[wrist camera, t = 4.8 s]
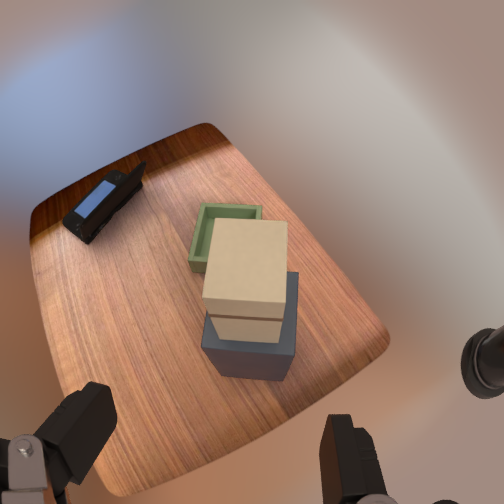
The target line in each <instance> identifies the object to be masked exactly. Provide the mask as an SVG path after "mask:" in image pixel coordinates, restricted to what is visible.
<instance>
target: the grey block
mask: <svg viewBox="0 0 504 504" xmlns="http://www.w3.org/2000/svg"><path fill="white" fill-rule="evenodd" d="M298 275H299V273H298V272H287V280H286V304H285V310H284V320H283V322H282V326H281V331H280V337H279V342H278V343H265V342H249V341H235V340H222V339H219V336H218V334H217V332H216V330H215V327H214V325H213V323H212V320H211V318H210V317H209V316H208V311H206V318H205V324H204V330H203V336H202V343H201V348H202V349H203V351H204V352H205V354H206V355H207V356H208V358H209V359H210V361H211V362H212V363H213V365H214V366H215V368H216V369H217V370H218V372H219V373H220V374H221V376H227V377H236V378H246V379H258V380H271V381H283V380H284V378H285V376H286V374H287V371H288V369H289V367H290V365H291V363H292V360H293V358H294V356H295V345H296V325H297V303H298Z"/></svg>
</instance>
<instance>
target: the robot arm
mask: <svg viewBox="0 0 504 504" xmlns="http://www.w3.org/2000/svg"><path fill="white" fill-rule="evenodd" d="M472 363H473V370H474V374H475V376H476V378H477V380H478V382H479V383H480V384H481V385H482V386H483V387H485V388H487V389H491V390H494V389H498V388H500V387H502V386H504V326H502V327H500V328H498V329H497V330H495V331H493V332H491V334H490V333H489V334H488V335H486V336H484V337H483V338H481V339H480V340H479V342H478V343H477V344H476V346H475V349H474V352H473V359H472ZM116 424H117V413H116V409H115V405H114V401H113V397H112V393H111V389H110V387H109V386H107V385H103V384H99V383H96V382H92V381H91V382H88V383H87V385H86V386H85V387H84V388H83V389H82V390H81V391H79V390H77V391H75V392H74V393H72V394H70V395H68V396H67V397H66V398H65V399H64V400H63V401H62V402H61V404H60V406H58V407H57V408H56V409H55V411H54V412H53V413H52V414H51V415H50V416H49V417H48V418H47V419H46V420H45V422H44V423H43V424H42V425H41V426H40V428H39V429H38V430H37V431H36V432H35V433H34V434H33V435H29V434H24V435H19V436H17V437H15V438H14V439H12V440H6V439H2V438H0V504H71V501H70V497H69V493H68V489H67V487H66V486H67V484H68V482H69V481H70V482H73V483H75V484H77V485H80V484H81V483H82V481H83V480H84V478H85V476H86V475H87V473H88V471H89V470H90V468H91V466H92V465H93V463H94V462H95V460H96V458H97V457H98V455H99V453H100V452H101V450H102V449H103V447H104V445H105V444H106V442H107V441H108V439H109V437H110V436H111V434H112V433H113V431H114V429H115V427H116ZM319 457H320V469H321V481H322V493H323V504H398V503H397V502H396V501H395V500H394V499H393V498H391V497H389V496H388V494H387V491H386V488H385V484H384V480H383V476H382V472H381V468H380V465H379V461H378V460H377V454H376V451H375V447H374V443H373V440H372V437H371V436H370V435H369V433H368V432H367V431H366V430H365V429H364V428H354V427H353V423H352V419H351V416H350V415H349V414H336V415H335V414H334V415H333V414H332V415H331V414H329V415H328V417H327V421H326V425H325V428H324V432H323V436H322V440H321V444H320V451H319ZM434 504H458V503H457V502H454V501H451V500H440V501H437V502H435V503H434Z"/></svg>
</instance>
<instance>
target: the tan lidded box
mask: <svg viewBox="0 0 504 504" xmlns="http://www.w3.org/2000/svg"><path fill="white" fill-rule="evenodd" d="M287 237H288V221H277V220H256V219H233V218H215V221H214V227H213V233H212V238H211V244H210V250H209V256H208V262H207V268H206V274H205V280H204V286H203V293H202V299H203V301H204V304H205V306H206V309H207V311H208V316H209V317H210V318H211V320H212V323H213V325H214V327H215V330H216V332H217V334H218V336H219V339H222V340H235V341H249V342H265V343H278V342H279V337H280V331H281V326H282V322H283V320H284V310H285V304H286V280H287Z"/></svg>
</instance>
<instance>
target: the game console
mask: <svg viewBox="0 0 504 504" xmlns="http://www.w3.org/2000/svg"><path fill="white" fill-rule="evenodd" d="M145 166H146V161H142V162H141V163H140V164H139V165H138V166H137V167H136V168H135V169H134V170H132V171H131V172H130V173H129V174H128V175H126V174H124V173H122V172H120V171H118V170H111V171H110V172H109V173H108V174H106V175H105V176H104V177H103V178H102V179H101V180H100V181H99V182H98V183H97V184H96V185H95V186H94V187H93V188H92V189H91V190H90V191H89V192H88V193H87V194H86V195H85V196H84V197H83V198H82V199H81V200H80V201H79V202H78V203H77V204H76V205H75V206H74V207H73V208H72V210H71V211H70V212H69V213H68V214H67V215H66V216H65V217H64V219H63V221H62V223H63V225H64V226H65V227H66V228H67V229H68V230H69V231H71V232H72V233H73V234H75V235H76V236H77V237H78V238H79V239H81V240H82V241H83V242H85V244H89V243H90V242H91V241H92V240H93V239H94V238H95V236H96V235H97V234H98V233H99V232H100V231H101V229H102V228H103V227H104V226H105V225H106V224H107V223H108V222H109V220H110V219H111V218H112V216H113V214H114V213H115V212H116V211H118V210H120V209H121V207H123V206H124V205H125V204H126V203H127V202H128V201H129V200H130V199H131V198H132V197H133V196H134V195H135V194H136V193H137V192H138V191H139V190H140V189H141V188H142V187H143V184H142V182H141V179H142V176H143V173H144V169H145Z"/></svg>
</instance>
